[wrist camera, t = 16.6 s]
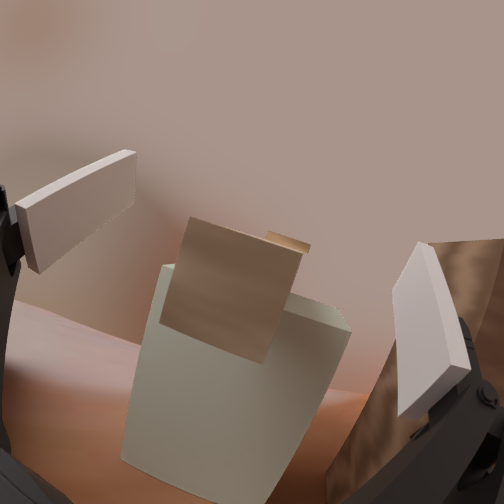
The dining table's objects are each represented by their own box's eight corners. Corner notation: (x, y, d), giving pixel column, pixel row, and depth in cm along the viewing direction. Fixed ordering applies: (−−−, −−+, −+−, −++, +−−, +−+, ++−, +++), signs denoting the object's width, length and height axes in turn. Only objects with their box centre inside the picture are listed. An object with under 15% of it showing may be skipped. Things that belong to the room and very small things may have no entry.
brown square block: (260, 270, 41) (272, 233, 40) (297, 283, 40) (310, 245, 40) (147, 317, 11) (186, 185, 11) (276, 369, 10) (326, 228, 10)
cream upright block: (156, 420, 32) (201, 261, 31) (268, 464, 30) (337, 308, 29) (119, 459, 23) (162, 264, 22) (256, 516, 21) (351, 332, 20)
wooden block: (325, 473, 30) (428, 243, 28) (393, 484, 28) (496, 272, 27) (327, 557, 16) (505, 238, 15) (416, 558, 15) (579, 282, 13)
